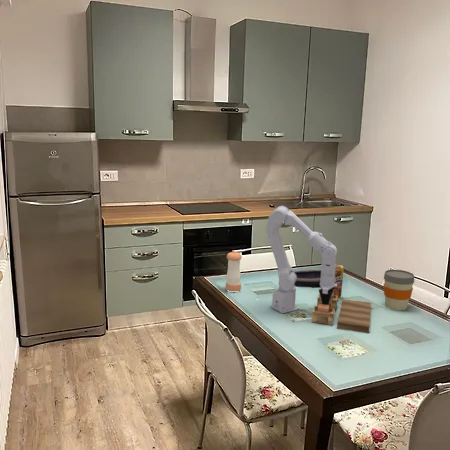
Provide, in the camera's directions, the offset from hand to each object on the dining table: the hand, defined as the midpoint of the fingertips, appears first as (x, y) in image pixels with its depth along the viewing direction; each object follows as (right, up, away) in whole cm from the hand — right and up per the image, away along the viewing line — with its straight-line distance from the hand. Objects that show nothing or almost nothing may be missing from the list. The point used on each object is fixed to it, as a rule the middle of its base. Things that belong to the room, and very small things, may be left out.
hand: (325, 304), depth 194 cm
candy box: (+6, 0, +19) cm, 20 cm away
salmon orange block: (-2, -2, -7) cm, 8 cm away
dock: (+11, -5, -3) cm, 13 cm away
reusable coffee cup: (+33, -3, +10) cm, 35 cm away
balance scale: (0, -4, +1) cm, 4 cm away
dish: (+3, +4, +40) cm, 40 cm away
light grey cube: (+2, +1, +7) cm, 8 cm away
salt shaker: (-38, +2, +27) cm, 47 cm away
